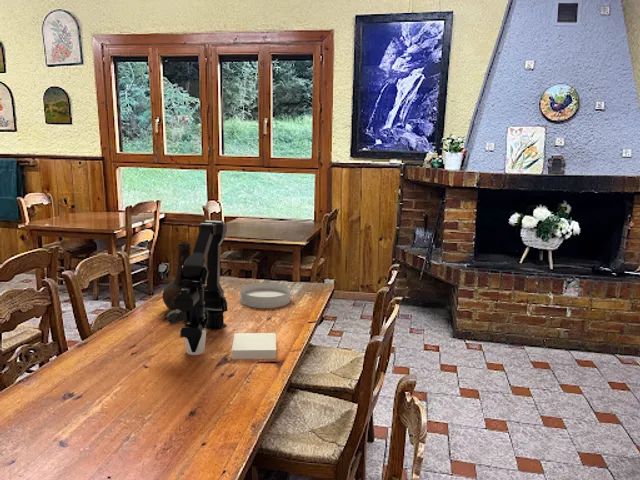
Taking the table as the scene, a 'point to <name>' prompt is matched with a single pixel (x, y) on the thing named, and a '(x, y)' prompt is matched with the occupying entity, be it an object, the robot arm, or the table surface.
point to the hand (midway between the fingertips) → (195, 346)
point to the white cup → (200, 346)
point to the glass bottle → (172, 288)
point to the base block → (254, 346)
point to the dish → (265, 295)
